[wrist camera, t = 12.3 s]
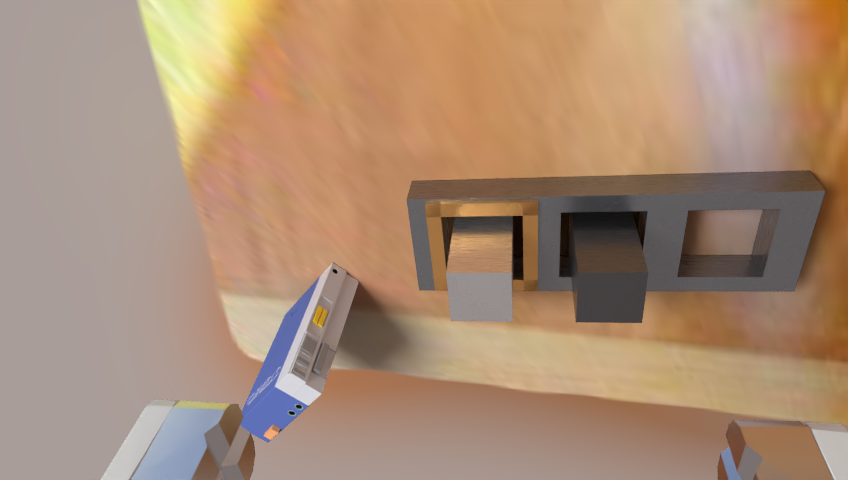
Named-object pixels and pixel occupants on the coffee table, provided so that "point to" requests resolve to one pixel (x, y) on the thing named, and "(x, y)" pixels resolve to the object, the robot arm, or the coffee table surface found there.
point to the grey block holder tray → (657, 228)
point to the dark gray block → (606, 267)
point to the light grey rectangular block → (481, 269)
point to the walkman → (300, 355)
